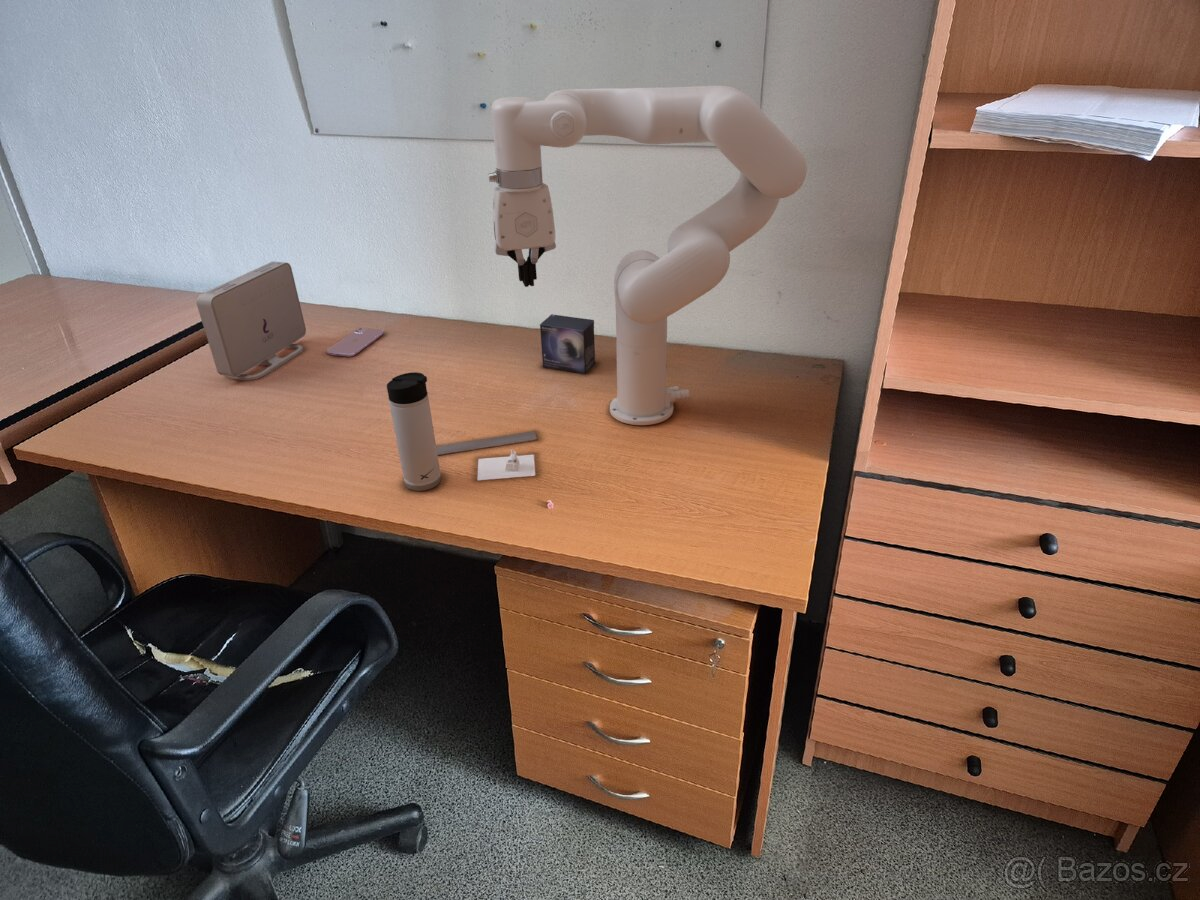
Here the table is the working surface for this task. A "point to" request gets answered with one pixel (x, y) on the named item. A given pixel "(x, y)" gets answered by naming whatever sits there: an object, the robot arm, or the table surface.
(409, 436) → the travel mug
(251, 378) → the network device
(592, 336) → the small box
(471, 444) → the steel ruler
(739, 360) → the table surface
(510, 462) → the adhesive hook
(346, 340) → the mobile phone
